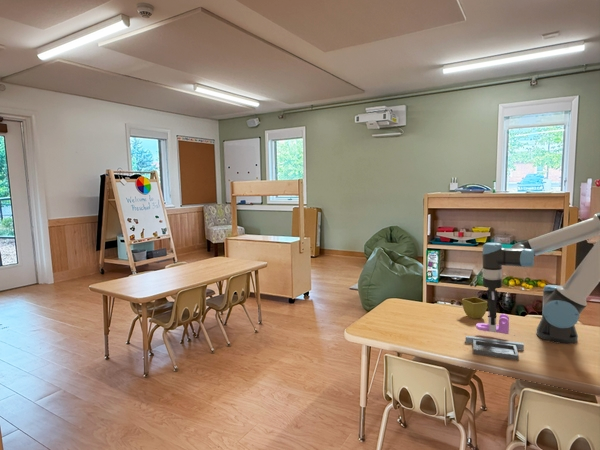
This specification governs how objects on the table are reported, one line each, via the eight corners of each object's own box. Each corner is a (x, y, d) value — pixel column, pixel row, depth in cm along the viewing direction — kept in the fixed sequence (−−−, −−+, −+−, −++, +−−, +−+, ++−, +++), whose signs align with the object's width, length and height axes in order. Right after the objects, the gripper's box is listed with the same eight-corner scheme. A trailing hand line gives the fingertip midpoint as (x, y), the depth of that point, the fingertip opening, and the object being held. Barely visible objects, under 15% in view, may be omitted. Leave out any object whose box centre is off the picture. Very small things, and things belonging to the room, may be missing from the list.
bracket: (508, 329, 170) (508, 314, 169) (508, 334, 165) (508, 318, 164) (476, 325, 176) (476, 310, 175) (475, 329, 171) (475, 314, 170)
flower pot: (461, 315, 198) (461, 298, 197) (474, 313, 200) (475, 296, 199) (473, 321, 190) (474, 303, 188) (487, 318, 192) (488, 301, 191)
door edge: (523, 348, 159) (523, 343, 158) (523, 350, 157) (523, 344, 157) (465, 340, 167) (465, 335, 167) (465, 342, 166) (465, 337, 165)
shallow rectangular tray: (515, 349, 158) (515, 345, 157) (518, 360, 149) (518, 355, 148) (473, 344, 164) (473, 339, 164) (473, 354, 155) (473, 349, 155)
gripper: (481, 272, 178) (482, 320, 180) (483, 282, 161) (483, 335, 163) (500, 273, 175) (500, 321, 177) (503, 283, 158) (503, 337, 160)
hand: (492, 328), depth 170 cm, fingers closed on bracket, 6 cm apart
